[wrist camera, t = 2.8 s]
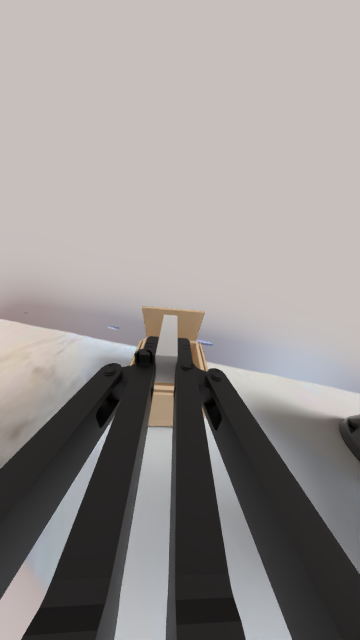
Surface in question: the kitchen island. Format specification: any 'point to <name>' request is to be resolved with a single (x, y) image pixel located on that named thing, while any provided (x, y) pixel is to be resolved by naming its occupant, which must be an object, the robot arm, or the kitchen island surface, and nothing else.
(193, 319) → the front flap
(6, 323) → the kitchen island surface
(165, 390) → the carton
